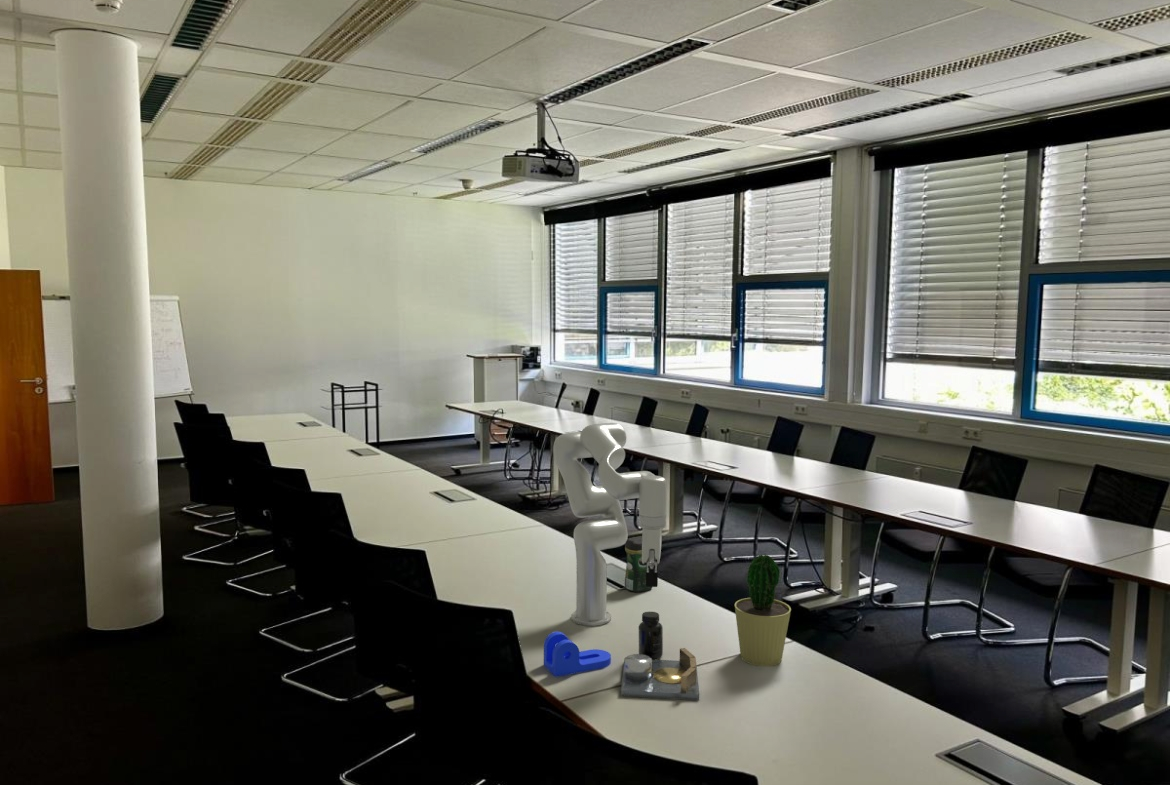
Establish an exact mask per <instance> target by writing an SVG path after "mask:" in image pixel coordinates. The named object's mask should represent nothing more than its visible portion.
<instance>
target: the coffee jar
mask: <svg viewBox="0 0 1170 785" xmlns="http://www.w3.org/2000/svg"><path fill="white" fill-rule="evenodd" d="M624 550H625V553H626V567H625V577H624V588H625V589H626V590H627V591H629V592H633V593H639V592H645V591H646V592H647V591H649V590H652V589H653V587H647V586H646V572H647V562H646V563H644V564H643V563H642V536H636V537H635V536H634V537H629V538H627V541H626V543H625V544H624Z"/></svg>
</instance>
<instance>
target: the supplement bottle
mask: <svg viewBox="0 0 1170 785" xmlns="http://www.w3.org/2000/svg"><path fill="white" fill-rule="evenodd" d="M663 628H664V627H663V625H662V623H661V622H660V614H659V613H658V612H656V611H644V612H642V614H641V622H640V623H639V624H638V654H642V655H646V656H649V657H650V658H651V659H652V660H660V658H662V657H663V654H664V653H663V652H664V651H663V650H664V637H663V636H664V635H663V633H664V629H663Z"/></svg>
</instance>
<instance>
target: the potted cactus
mask: <svg viewBox="0 0 1170 785" xmlns="http://www.w3.org/2000/svg"><path fill="white" fill-rule="evenodd" d="M773 557H774V555H769V554H767V555H766V554H764V555H763V554H757V553H756V556H755V557H753V559H752V561H750V564H747V566H748V567H746V570H747V576H746V577H747V578H746V580H745V582H746V583H747V585H748V587H749V588H748V590H749V592H748V593H747V594H748V595H749V597H747V598H746V597H745V598H741V599H739V600H737V601H735V603H734V611H735V619H736V628H737V637H738V645H739V653H740V658H741V659H742V660H743V661H744V662H746V663H748V664H751V665H754V666H758V667H759V666H760V667H770V666H772V667H773V666H776V665H779V664H780V663H781V662H782V659H783V655H784V654H783V653H784V650H785V644H786V637H787V633H788V627H789V622H790V617H791V611H792V608H791V606H790V605H789V604H787V603H786V602H783V601H781V600H779V599H775V596H776V592H775V591H776V590H775V589H778V584H779V583H783V582H782V581H780V577H781V576H780V575H782V574H781V573H780V572H781V571H780V570H782V569H781V568H783V566H780V567H779V565H778V563H777V562H776V561H775V559H773Z"/></svg>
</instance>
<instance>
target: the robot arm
mask: <svg viewBox="0 0 1170 785" xmlns="http://www.w3.org/2000/svg"><path fill="white" fill-rule="evenodd" d="M626 443H627V433H626V431H625V428H624V427H623V426H622V425H620V424H619V423H617V422H609V423H607V422H606V423H594V424H593V423H592V424H588V425H587V426H585V427H584V428H582V430H581V431H572V432H567V433H563V434H560V435H558V436H557V437H556V439H555V440H554V442H553V447H552V450H553V459H554V461H555V464H556V467H557V468H558V471H559V472H560V474H561V477H562V479H563V480H562V481H563V482H564V487H565V492H566V494H567V499H568V502H569V506H570V510H571V511H572V514H573V515H574V516H575V517H576V518H581V519H583V518H592V517H600V516H602V518H596V519H589V520H588V519H587V520H585V521H584V520H583V521H582V522H580V523H578V524H577V525H576V526H575V527H574V529H573V541H574V548H575V558H576V594H575V595H576V598H575V599H576V602H575V603H576V604H575V605H576V608H575V609H576V610H575V611H573V612H572V613H571V614H570V615H571V618H570V619H571V621H572V622H573V623H576V624H578V625H582V626H587V627H588V626H590V627H594V626H595V627H596V626H597V627H598V626H602V625H605V624H608V623H610V621H612V614H611V613H610V612H609V611H607V584H608V581H607V579H608V576H607V574H608V571H607V570H608V566H607V562H606V559H605V558H604V556H603V555H602V553H601V551H604V550H607V549H614V548H619V547H622V546H625V543H626V541H627V538H628V535H629V534H628V526H627V522H626V519H625V515H624V512H623V509H622V505H621V501H624V500H632V499H638V500H639V503H638V526H639V527H640V528H642V534H641V535H642V563H643V564H644V563H646V562H647V572H646V586H647V587H652V588H658V586H659V582H658V580H659V579H658V578H659V564H660V559H661V554H662V551H661V550H662V539H663V538H662V536H663V535H662V532H663V531H662V529H664V528H667V489H668V488H667V480H666V478H665V477H663V476H661V475H655V474H654V473H652V472H651V471H648V470H640V471H628V472H621V473H619V472H617V471H616V470H617V469H618V468H619V467H620V466H621V465H622V464H623V463H624V460H625V458H626V451H625V449H624V447H625V445H626ZM586 458H593V459H594V460H595V461H596V462H597V463H598V469H597V473H598V480H599V483H600V484H601V485H594V484H593V482H592V480H591V475H590V473H589V471H588V469H587V468H586V467H585V466H584V465H583V464H582V463H581V462H580V461H578V459H586Z"/></svg>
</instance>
